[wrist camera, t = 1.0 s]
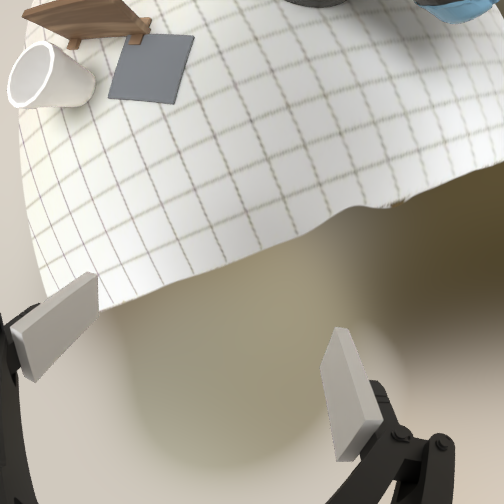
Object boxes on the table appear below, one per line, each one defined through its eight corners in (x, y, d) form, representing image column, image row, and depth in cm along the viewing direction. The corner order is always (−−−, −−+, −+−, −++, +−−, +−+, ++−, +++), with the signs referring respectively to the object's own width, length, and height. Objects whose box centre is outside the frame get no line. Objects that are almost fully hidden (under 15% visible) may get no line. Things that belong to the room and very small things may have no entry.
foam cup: (110, 94, 37) (60, 76, 24) (68, 127, 38) (13, 122, 26) (94, 52, 34) (47, 27, 22) (54, 85, 36) (3, 72, 23)
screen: (77, 26, 33) (29, -1, 19) (154, 19, 33) (115, -23, 19) (67, 50, 34) (16, 28, 21) (144, 46, 34) (100, 9, 21)
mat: (129, 35, 34) (127, 34, 33) (194, 37, 34) (193, 35, 33) (109, 98, 37) (107, 97, 36) (174, 104, 37) (172, 103, 36)
